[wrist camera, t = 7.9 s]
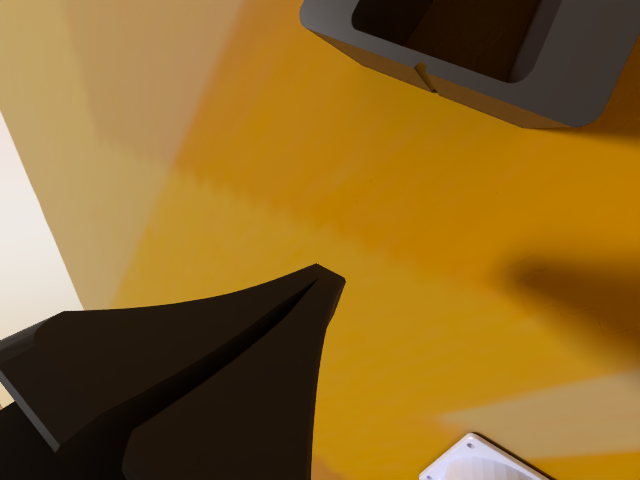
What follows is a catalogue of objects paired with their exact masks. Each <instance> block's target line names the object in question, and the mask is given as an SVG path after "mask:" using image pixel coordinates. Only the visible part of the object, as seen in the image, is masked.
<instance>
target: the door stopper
mask: <svg viewBox="0 0 640 480" xmlns="http://www.w3.org/2000/svg"><path fill="white" fill-rule="evenodd" d="M432 2H433V0H304V2H303V4H302V6H301V9H300V21H301V24H302V25H303V26H304V27H305V28H306V29H308V30H309V31H311V32H313V33H314V34H316V35H317V36H319V37H320V38H322V39H323V40H325V41H326V42H328V43H329V44H331V45H332V46H334V47H335V48H337V49H338V50H340V51H341V52H343V53H344V54H346V55H347V56H349V57H350V58H352V59H353V60H355V61H356V62H358V63H360V64H361V65H363V66H365V67H368V68H370V69H373V70H375V71H378V72H381V73H383V74H386V75H388V76H391V77H393V78H396V79H398V80H401V81H404V82H406V83H409V84H411V85H414V86H416V87H419V88H422V89H424V90H427V91H429V92H433V91H434V90H436V91H437V93H438V94H439V96H442V97H445V98H447V99H450V100H452V101H455V102H457V103H460V104H462V105H465V106H468V107H470V108H473V109H475V110H478V111H480V112H483V113H486V114H488V115H491V116H493V117H496V118H498V119H501V120H503V121H506V122H509V123H511V124H514V125H516V126H519V127H521V128H553V127H581V126H585V125H588V124H590V123H592V122H593V121H595V120H596V119H597V118H598V117H599V116H600V115H601V114H602V112H603V111H604V109H605V106H606V104H607V102H608V100H609V98H610V96H611V93H612V91H613V89H614V87H615V85H616V83H617V80H618V78H619V76H620V74H621V72H622V70H623V67H624V65H625V63H626V61H627V59H628V57H629V55H630V52H631V50H632V48H633V46H634V44H635V42H636V39H637V37H638V35H639V33H640V0H537V3H536V6H535V8H534V11H533V13H532V16H531V18H530V21H529V24H528V26H527V29H526V31H525V34H524V36H523V39H522V42H521V44H520V47H519V49H518V52H517V55H516V57H515V60H514V62H513V65H512V67H511V70H510V73H509V75H508V78H507V80H506V83H505V82H502V81H499V80H497V79H494V78H491V77H488V76H485V75H482V74H480V73H477V72H474V71H471V70H468V69H465V68H463V67H460V66H457V65H454V64H451V63H448V62H446V61H443V60H440V59H437V58H434V57H431V56H429V55H426V54H423V53H420V52H417V51H414V50H412V49H409V48H406V47H403V45H404V44H405V42H406V41H407V39H408V38H409V36H410V35H411V33H412V32H413V30H414V29H415V27H416V26H417V24H418V23H419V21H420V20H421V18H422V17H423V15H424V14H425V12H426V11H427V9H428V8H429V6H430V5H431V3H432Z"/></svg>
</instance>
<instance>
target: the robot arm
mask: <svg viewBox="0 0 640 480" xmlns="http://www.w3.org/2000/svg"><path fill="white" fill-rule="evenodd" d="M345 283H346V281H345V278H344V277H342V276H340V275H338V274H336V273H334V272H332V271H330V270H328V269H326V268H324V267H322V266H321V265H319V264H317V263H316V264H313V265H311V266H308V267H306V268H303V269H301V270H298V271H296V272H293V273H291V274H288V275H285V276H283V277H280V278H277V279H275V280H272V281H269V282H266V283H263V284H260V285H257V286H254V287H250V288H247V289H244V290H240V291H237V292H233V293H229V294H224V295H220V296H216V297H211V298H205V299H199V300H193V301H187V302H181V303H175V304H167V305H158V306H149V307H138V308H126V309H108V310H85V311H63V312H61V313H59V314H57V315H55V316H52V317H50V318H48V319H46V320H44V321H41V322H39V323H37V324H35V325H33V326H31V327H28V328H26V329H24V330H22V331H20V332H17V333H15V334H13V335H11V336H9V337H7V338H5V339H2V340H0V382H1V383H2V385H3V386H4V387H5V389H6V390H7V391H8V392H9V394H10V395H11V396H12V398H13V399H14V400H15V401H14V402H13V403H11V404H9V405H8V406H6V407H5V408H2V406H1V405H0V480H311V461H312V442H313V426H314V415H315V403H316V391H317V383H318V375H319V367H320V361H321V354H322V348H323V343H324V338H325V333H326V329H327V326H328V324H329V322H330V321H331V319H332V317H333V315H334V313H335V310H336V307H337V305H338V302H339V299H340V296H341V294H342V291H343V288H344V285H345ZM419 479H420V480H550V479H548V478H546V477H545V476H543V475H541V474H540V473H538V472H536V471H535V470H533V469H532V468H530V467H528V466H527V465H525V464H523V463H522V462H520V461H519V460H517V459H515V458H514V457H512V456H510V455H509V454H507V453H506V452H504V451H502V450H501V449H499V448H497V447H496V446H494V445H493V444H491V443H489V442H488V441H486V440H484V439H483V438H481V437H480V436H478V435H476V434H473V433H469V434H467V435H466V436H464V437H463V438H462V439H461V440H460V441H459V442H457V443H456V444H455V445H454V446H453V447H451V448H450V449H449V450H448V451H447V452H445V453H444V454H443V455H442V456H441V457H439V458H438V459H437V460H436V461H435V462H433V463H432V464H431V465H430V466H429V467H428V468H426V469H425V470H424V471H423V472H422V473H420V476H419Z"/></svg>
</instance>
